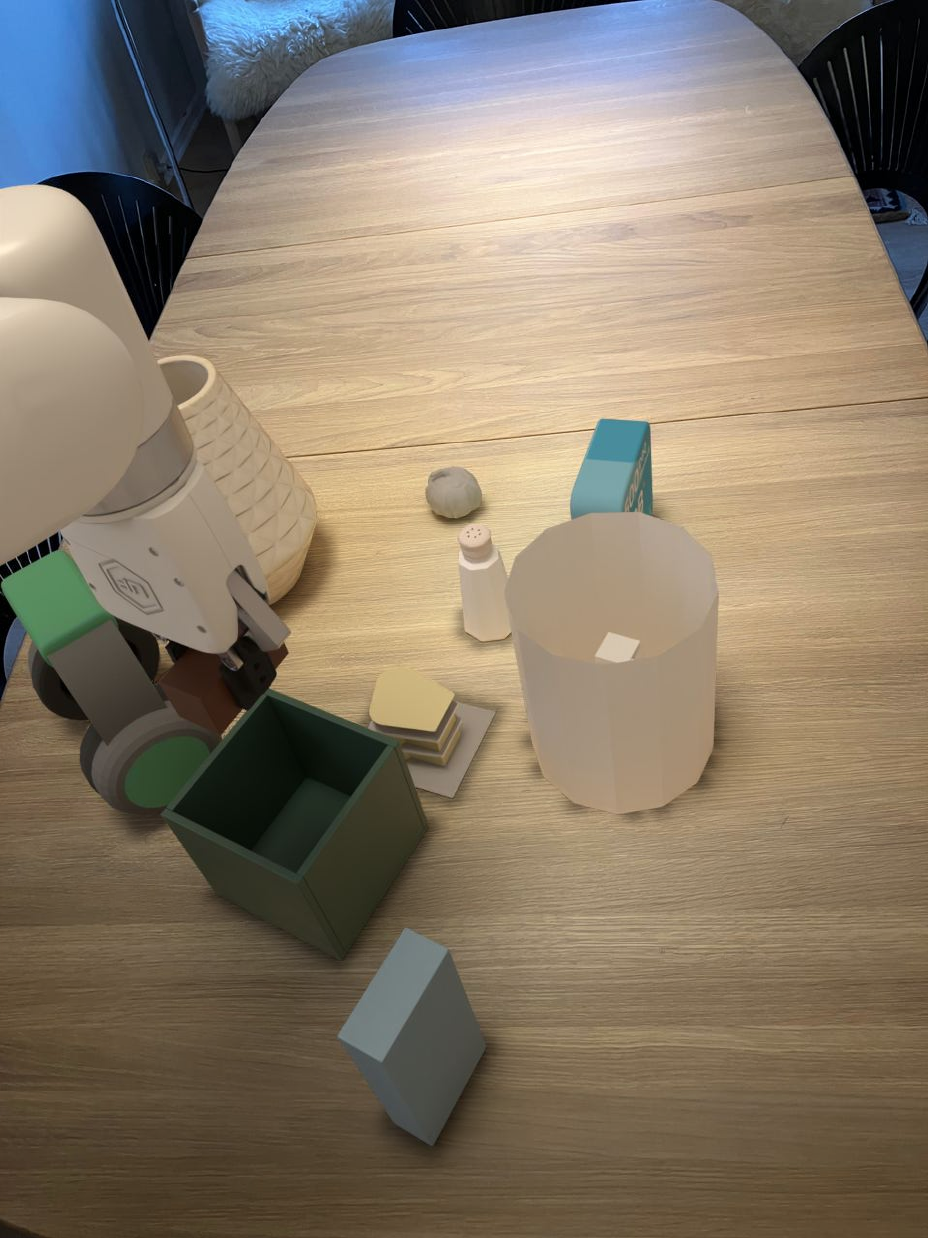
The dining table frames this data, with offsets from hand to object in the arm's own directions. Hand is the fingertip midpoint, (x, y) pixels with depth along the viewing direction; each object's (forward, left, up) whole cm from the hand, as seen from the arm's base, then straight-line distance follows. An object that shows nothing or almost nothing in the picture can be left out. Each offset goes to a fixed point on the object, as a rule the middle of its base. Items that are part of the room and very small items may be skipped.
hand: (232, 679), depth 64 cm
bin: (0, 0, -22) cm, 22 cm away
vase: (+23, +26, -22) cm, 41 cm away
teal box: (+39, -7, -22) cm, 45 cm away
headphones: (+3, +22, -22) cm, 31 cm away
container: (+20, -16, -22) cm, 34 cm away
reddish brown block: (0, 0, -1) cm, 1 cm away
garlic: (+39, +11, -22) cm, 46 cm away
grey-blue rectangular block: (-10, -17, -22) cm, 30 cm away
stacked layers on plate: (+13, -1, -22) cm, 26 cm away
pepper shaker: (+27, 0, -22) cm, 35 cm away
